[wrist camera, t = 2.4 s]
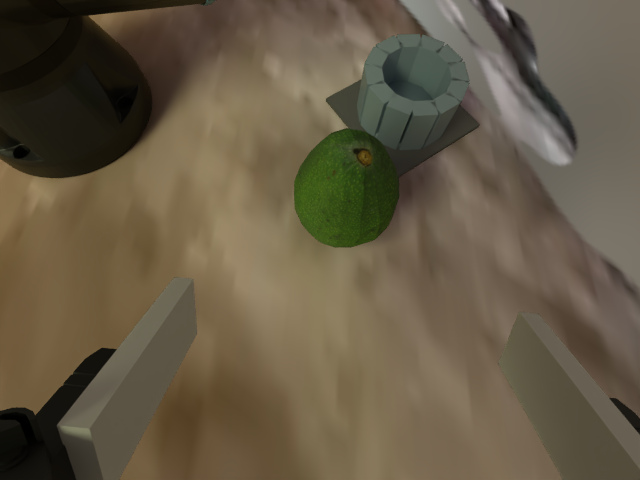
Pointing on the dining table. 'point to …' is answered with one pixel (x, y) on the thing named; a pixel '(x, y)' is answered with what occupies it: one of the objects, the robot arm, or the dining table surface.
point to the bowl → (410, 90)
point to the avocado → (346, 189)
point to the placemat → (402, 159)
